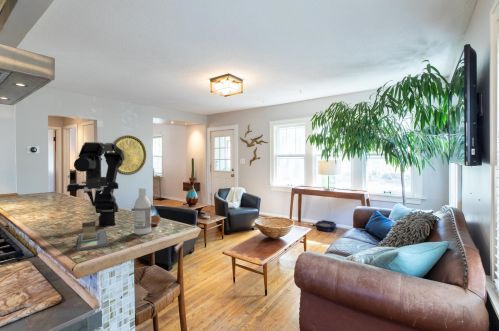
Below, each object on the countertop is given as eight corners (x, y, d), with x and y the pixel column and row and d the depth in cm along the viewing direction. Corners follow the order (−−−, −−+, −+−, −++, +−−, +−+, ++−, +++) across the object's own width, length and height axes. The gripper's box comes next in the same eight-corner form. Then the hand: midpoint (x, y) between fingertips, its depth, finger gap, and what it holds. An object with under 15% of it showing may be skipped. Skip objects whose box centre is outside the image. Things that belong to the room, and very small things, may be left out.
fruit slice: (149, 228, 116) (149, 218, 116) (139, 226, 119) (139, 216, 119) (163, 224, 123) (163, 214, 123) (154, 223, 126) (153, 213, 126)
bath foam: (151, 233, 108) (151, 188, 107) (134, 235, 105) (134, 189, 104) (150, 229, 114) (150, 186, 114) (134, 231, 111) (133, 187, 111)
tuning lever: (82, 238, 95) (81, 222, 91) (96, 236, 98) (95, 221, 93) (82, 241, 94) (81, 226, 90) (96, 239, 97) (95, 224, 92)
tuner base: (80, 236, 104) (80, 227, 104) (106, 232, 109) (106, 224, 109) (77, 251, 87) (77, 240, 87) (108, 246, 92) (107, 236, 92)
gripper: (66, 172, 96) (66, 211, 96) (119, 171, 107) (119, 206, 107) (67, 170, 105) (68, 207, 106) (116, 170, 116) (117, 203, 116)
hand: (93, 206), depth 108 cm, fingers closed
